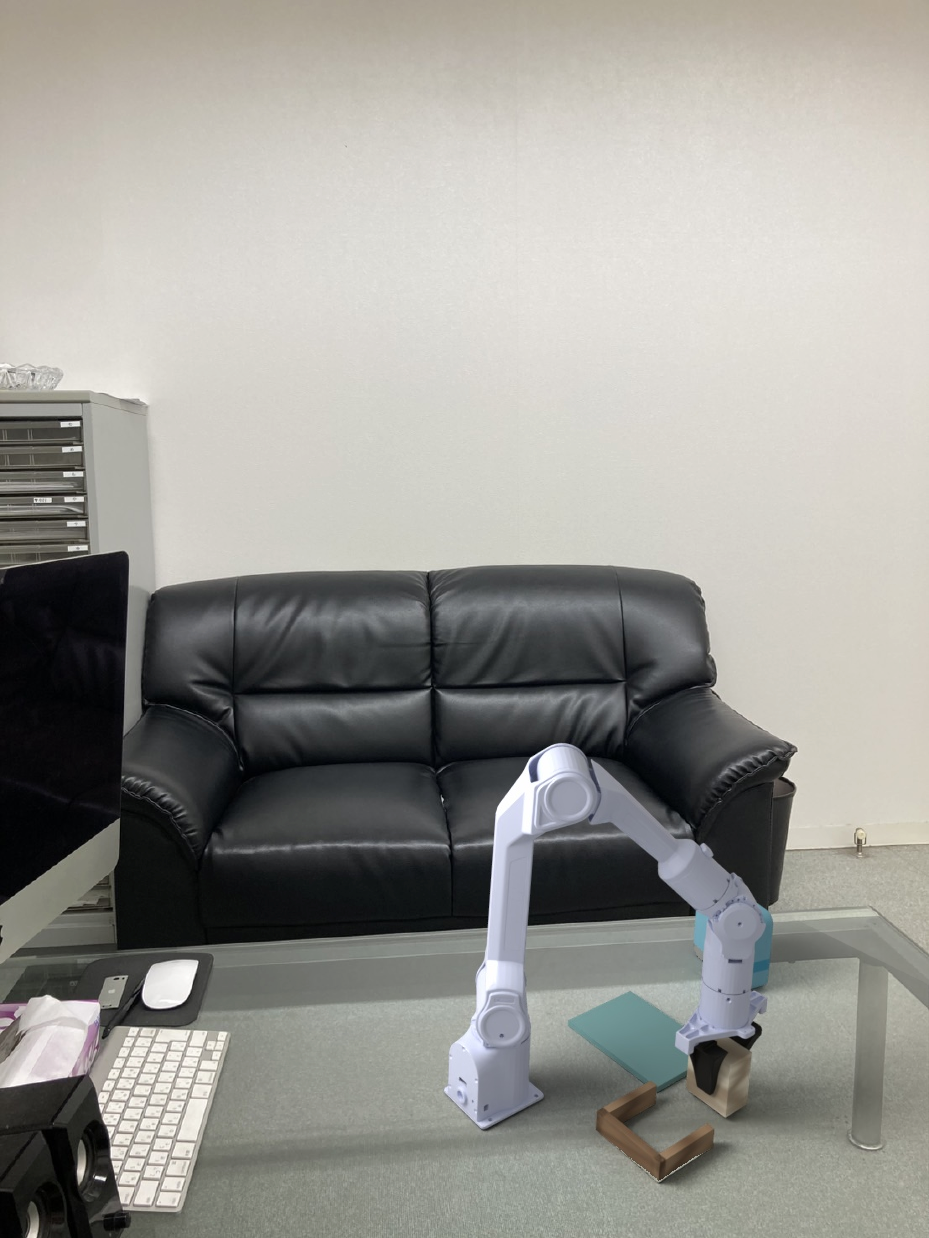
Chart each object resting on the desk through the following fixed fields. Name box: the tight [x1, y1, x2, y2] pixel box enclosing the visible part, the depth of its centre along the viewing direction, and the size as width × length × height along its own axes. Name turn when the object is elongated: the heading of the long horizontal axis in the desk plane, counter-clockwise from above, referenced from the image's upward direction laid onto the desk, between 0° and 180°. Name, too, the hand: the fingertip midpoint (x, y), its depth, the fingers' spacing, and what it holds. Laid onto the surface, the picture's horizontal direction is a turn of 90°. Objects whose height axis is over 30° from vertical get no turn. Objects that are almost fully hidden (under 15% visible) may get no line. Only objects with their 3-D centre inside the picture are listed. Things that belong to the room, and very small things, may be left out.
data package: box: [693, 903, 774, 990], centre depth 140 cm, size 12×4×12 cm, turn 23°
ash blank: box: [685, 1037, 753, 1119], centre depth 113 cm, size 4×6×7 cm, turn 36°
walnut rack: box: [595, 1081, 715, 1181], centre depth 107 cm, size 9×10×2 cm
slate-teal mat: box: [567, 990, 689, 1094], centre depth 125 cm, size 12×16×1 cm
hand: (717, 1082), depth 113 cm, fingers closed on ash blank, 4 cm apart
